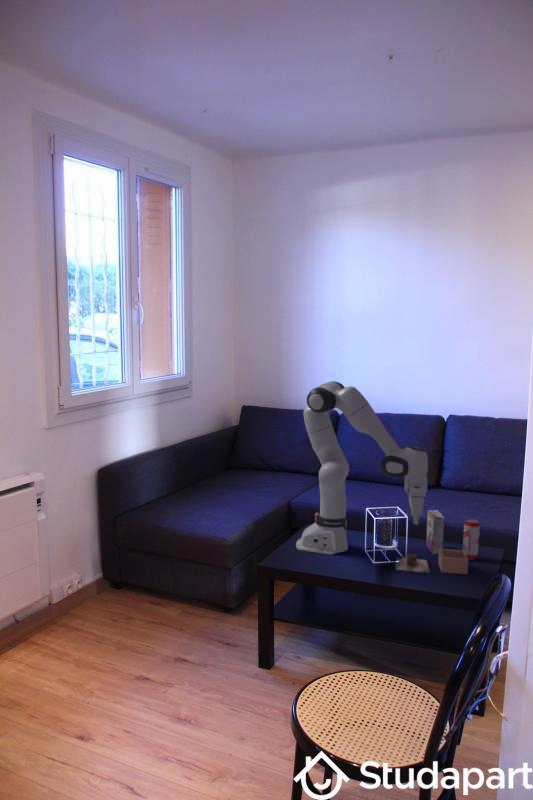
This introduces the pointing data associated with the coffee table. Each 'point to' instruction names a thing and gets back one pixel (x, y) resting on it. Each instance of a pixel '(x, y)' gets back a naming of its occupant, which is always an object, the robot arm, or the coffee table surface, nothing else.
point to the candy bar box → (435, 531)
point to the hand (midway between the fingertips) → (414, 520)
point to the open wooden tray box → (453, 561)
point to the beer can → (471, 538)
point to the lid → (412, 564)
